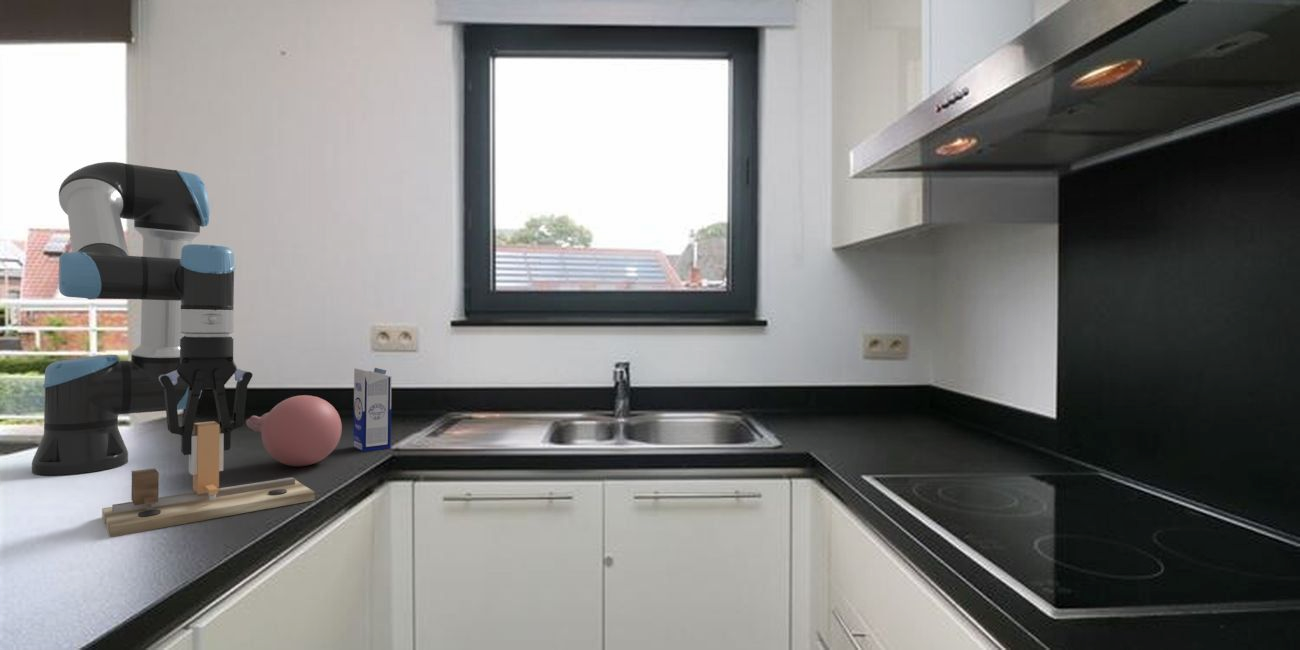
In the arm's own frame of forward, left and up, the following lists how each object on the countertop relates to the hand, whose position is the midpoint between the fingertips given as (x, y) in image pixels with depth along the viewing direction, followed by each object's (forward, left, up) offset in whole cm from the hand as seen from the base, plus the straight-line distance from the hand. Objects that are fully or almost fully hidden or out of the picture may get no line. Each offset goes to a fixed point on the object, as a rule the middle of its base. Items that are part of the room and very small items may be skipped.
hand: (206, 471), depth 109 cm
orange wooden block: (+2, 0, -4) cm, 4 cm away
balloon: (-22, +20, -6) cm, 31 cm away
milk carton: (-29, +40, -6) cm, 50 cm away
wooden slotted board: (+3, +1, -6) cm, 7 cm away
